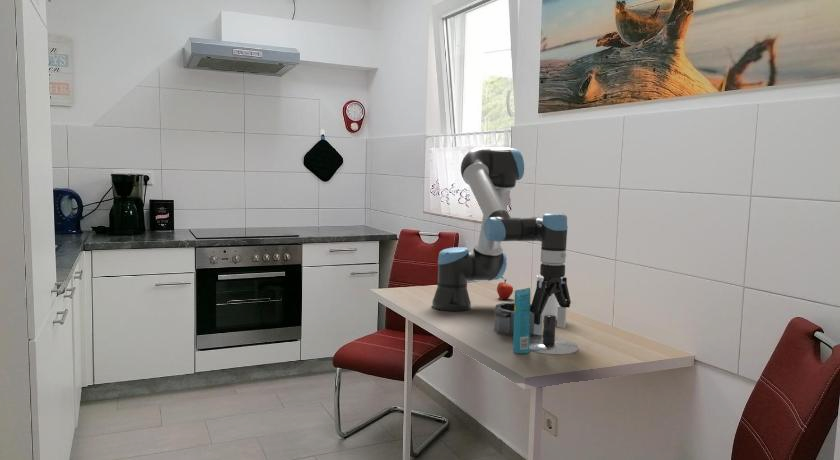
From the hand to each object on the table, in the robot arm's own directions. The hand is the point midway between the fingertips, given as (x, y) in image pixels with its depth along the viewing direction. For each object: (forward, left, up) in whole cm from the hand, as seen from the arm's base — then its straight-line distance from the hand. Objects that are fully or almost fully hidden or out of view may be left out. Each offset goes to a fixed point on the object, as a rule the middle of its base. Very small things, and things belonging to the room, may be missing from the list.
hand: (549, 330), depth 193 cm
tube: (-3, -12, -5) cm, 13 cm away
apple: (-51, +48, -5) cm, 70 cm away
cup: (-20, +31, -5) cm, 38 cm away
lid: (0, 0, -5) cm, 5 cm away
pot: (-17, +8, -5) cm, 20 cm away
